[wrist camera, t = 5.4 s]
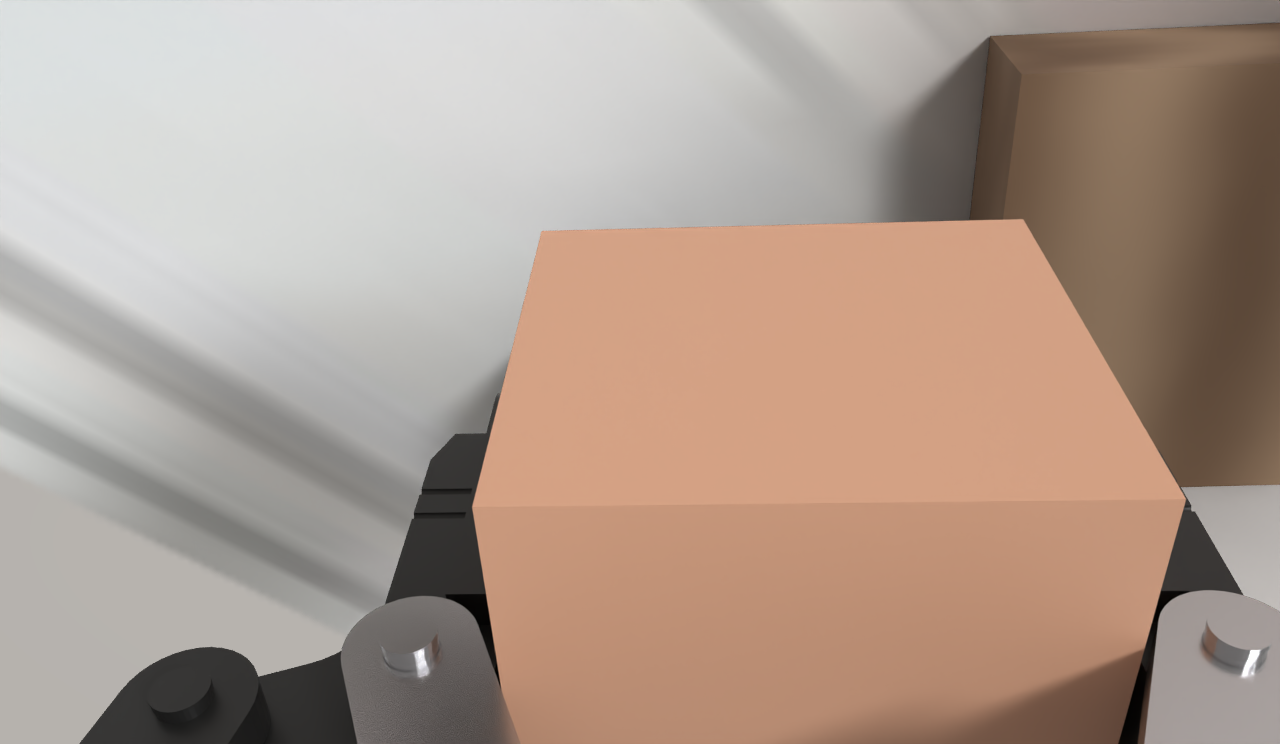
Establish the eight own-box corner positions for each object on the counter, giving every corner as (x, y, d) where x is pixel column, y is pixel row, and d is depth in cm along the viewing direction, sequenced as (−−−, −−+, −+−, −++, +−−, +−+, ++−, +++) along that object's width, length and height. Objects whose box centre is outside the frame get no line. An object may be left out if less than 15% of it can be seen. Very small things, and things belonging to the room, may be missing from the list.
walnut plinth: (1535, 11, 27) (1623, 47, 25) (1385, 417, 34) (1443, 480, 31) (990, 36, 28) (1021, 74, 25) (945, 430, 34) (967, 492, 32)
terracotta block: (1023, 219, 13) (1186, 499, 9) (968, 578, 16) (1069, 916, 12) (541, 230, 13) (472, 507, 9) (576, 581, 16) (537, 912, 12)
